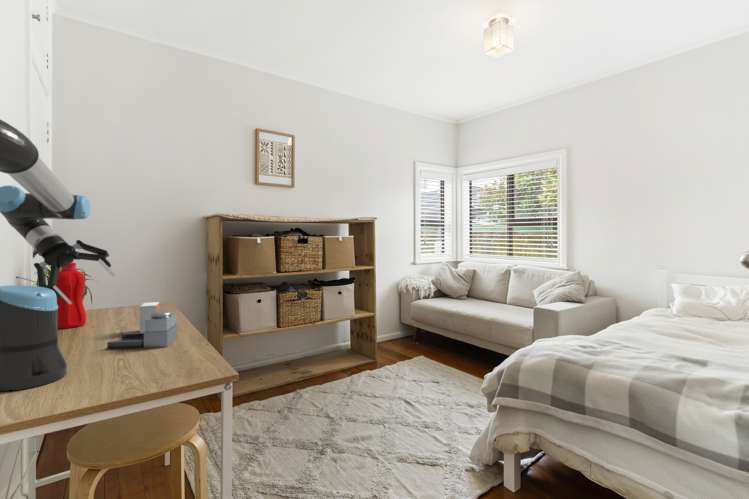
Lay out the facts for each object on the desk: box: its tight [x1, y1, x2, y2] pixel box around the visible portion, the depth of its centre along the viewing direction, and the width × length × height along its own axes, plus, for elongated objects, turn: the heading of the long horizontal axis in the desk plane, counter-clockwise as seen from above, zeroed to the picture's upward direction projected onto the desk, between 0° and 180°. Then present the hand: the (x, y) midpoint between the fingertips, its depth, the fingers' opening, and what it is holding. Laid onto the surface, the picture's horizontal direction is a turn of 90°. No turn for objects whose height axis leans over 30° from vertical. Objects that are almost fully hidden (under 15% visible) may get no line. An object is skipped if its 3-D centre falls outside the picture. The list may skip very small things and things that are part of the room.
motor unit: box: [106, 310, 179, 350], centre depth 128 cm, size 11×18×10 cm, turn 101°
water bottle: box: [56, 261, 87, 330], centre depth 150 cm, size 9×11×25 cm
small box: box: [139, 301, 161, 333], centre depth 143 cm, size 8×6×10 cm
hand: (92, 288), depth 119 cm, fingers open, 13 cm apart
